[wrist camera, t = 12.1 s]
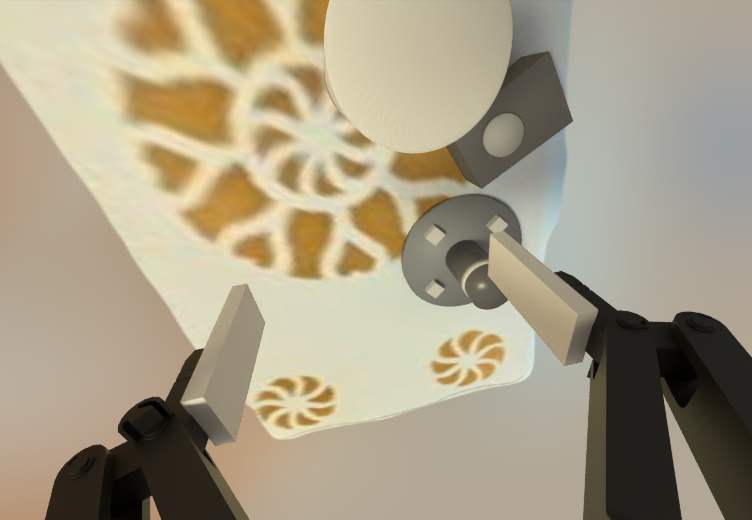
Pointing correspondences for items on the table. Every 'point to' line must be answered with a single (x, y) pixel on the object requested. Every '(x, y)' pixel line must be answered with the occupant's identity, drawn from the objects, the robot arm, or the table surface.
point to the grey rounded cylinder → (474, 274)
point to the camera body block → (514, 121)
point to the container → (416, 67)
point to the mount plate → (451, 244)
